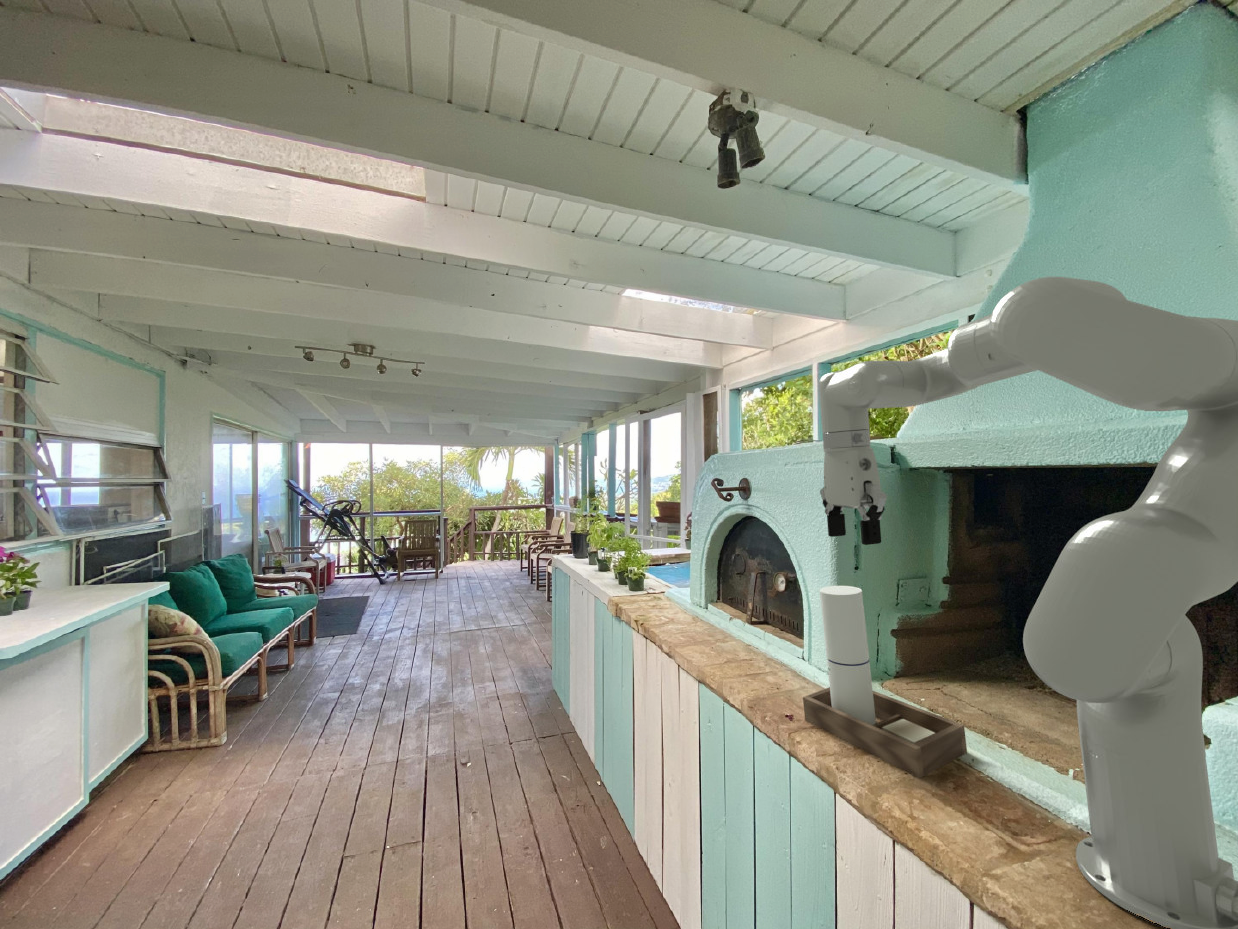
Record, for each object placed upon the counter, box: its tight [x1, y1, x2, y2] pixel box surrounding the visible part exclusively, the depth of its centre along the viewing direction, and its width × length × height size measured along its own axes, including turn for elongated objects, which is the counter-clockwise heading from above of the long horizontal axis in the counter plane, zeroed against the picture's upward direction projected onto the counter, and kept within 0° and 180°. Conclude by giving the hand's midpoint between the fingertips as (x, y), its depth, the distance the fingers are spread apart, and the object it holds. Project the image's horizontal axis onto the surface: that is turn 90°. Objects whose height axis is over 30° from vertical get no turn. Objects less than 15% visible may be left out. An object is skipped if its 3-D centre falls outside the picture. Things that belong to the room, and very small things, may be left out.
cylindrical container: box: [819, 585, 877, 725], centre depth 91 cm, size 7×7×25 cm
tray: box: [802, 686, 968, 779], centre depth 86 cm, size 22×12×5 cm, turn 26°
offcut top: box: [882, 719, 936, 744], centre depth 81 cm, size 6×5×2 cm
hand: (853, 539), depth 87 cm, fingers open, 9 cm apart
